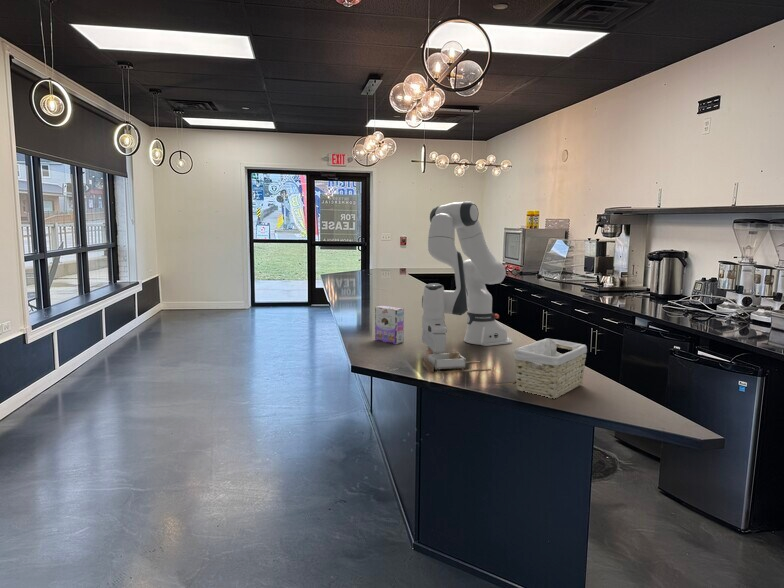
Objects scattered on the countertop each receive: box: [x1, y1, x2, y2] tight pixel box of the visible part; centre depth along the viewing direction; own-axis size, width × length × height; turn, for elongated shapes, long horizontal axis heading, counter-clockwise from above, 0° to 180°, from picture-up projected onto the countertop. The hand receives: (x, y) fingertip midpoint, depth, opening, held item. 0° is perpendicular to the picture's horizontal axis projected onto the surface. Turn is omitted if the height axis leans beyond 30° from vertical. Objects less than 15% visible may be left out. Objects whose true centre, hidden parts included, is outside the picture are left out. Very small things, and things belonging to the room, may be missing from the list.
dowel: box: [448, 351, 460, 359], centre depth 197 cm, size 4×4×4 cm
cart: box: [428, 352, 467, 372], centre depth 196 cm, size 12×9×5 cm
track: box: [422, 358, 492, 374], centre depth 197 cm, size 24×13×4 cm, turn 103°
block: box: [425, 350, 440, 360], centre depth 208 cm, size 4×4×5 cm
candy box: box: [374, 305, 405, 345], centre depth 243 cm, size 14×6×16 cm, turn 47°
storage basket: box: [513, 337, 588, 400], centre depth 177 cm, size 24×16×15 cm
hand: (432, 358), depth 208 cm, fingers closed on block, 4 cm apart
